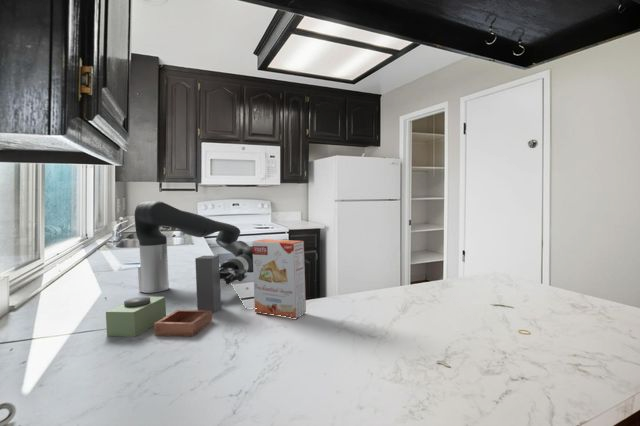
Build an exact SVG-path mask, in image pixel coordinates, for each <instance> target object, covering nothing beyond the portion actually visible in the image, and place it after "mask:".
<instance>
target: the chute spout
mask: <svg viewBox="0 0 640 426" xmlns="http://www.w3.org/2000/svg"><path fill="white" fill-rule="evenodd" d="M194 263H195V279H196V280H195V281H196V284H195V285H196V303H197V304H196V305H197V306H196V308H197V310H212V314H215V313H216V312H218V311H219V310H220V309H222V293H221V280H220V266H221V265H220V255H201V256H199V257H196V258H195V262H194Z"/></svg>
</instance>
